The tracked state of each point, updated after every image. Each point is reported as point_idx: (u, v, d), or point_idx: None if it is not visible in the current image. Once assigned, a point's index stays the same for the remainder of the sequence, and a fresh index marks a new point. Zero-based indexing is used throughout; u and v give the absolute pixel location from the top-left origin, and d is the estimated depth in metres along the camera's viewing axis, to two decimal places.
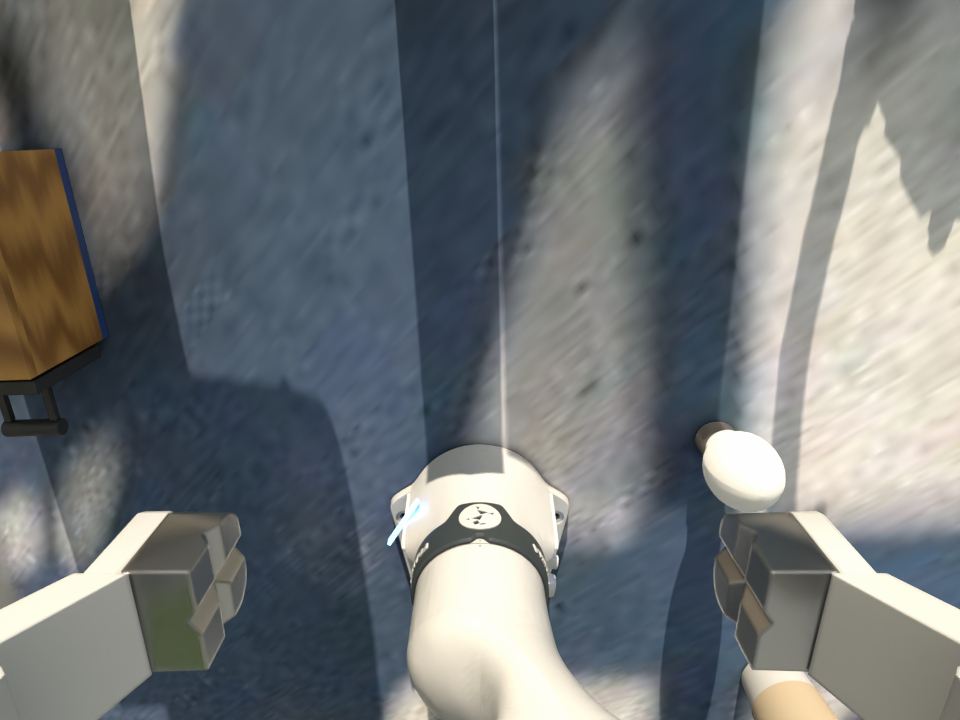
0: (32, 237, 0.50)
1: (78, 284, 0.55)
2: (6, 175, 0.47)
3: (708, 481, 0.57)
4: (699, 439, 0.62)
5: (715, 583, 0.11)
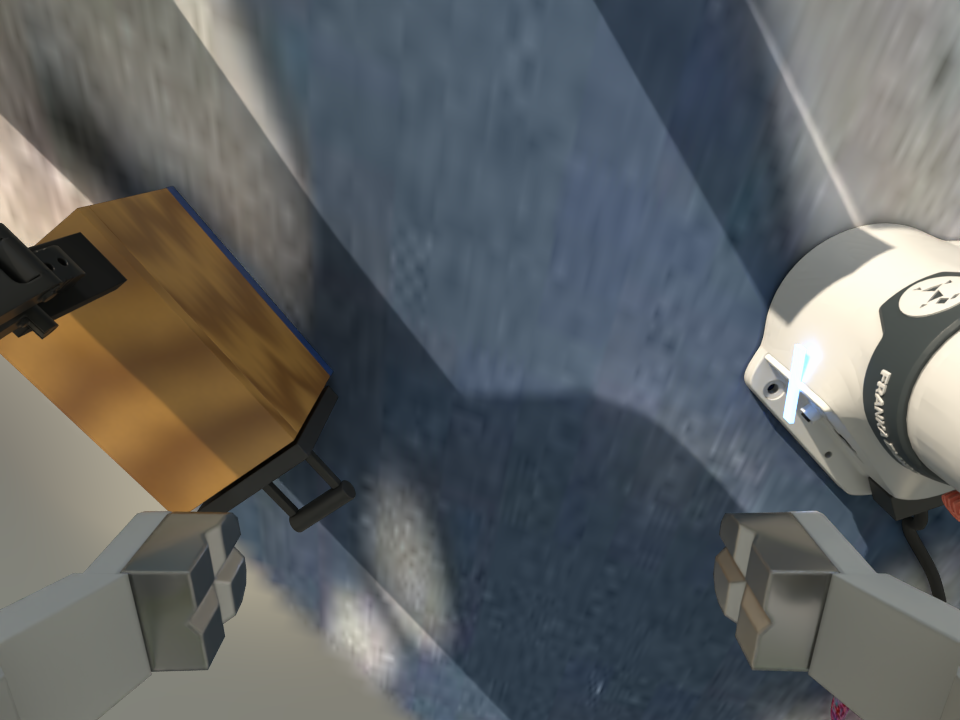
0: (202, 284, 0.39)
1: (274, 324, 0.44)
2: (137, 223, 0.37)
3: None
4: None
5: (715, 583, 0.11)
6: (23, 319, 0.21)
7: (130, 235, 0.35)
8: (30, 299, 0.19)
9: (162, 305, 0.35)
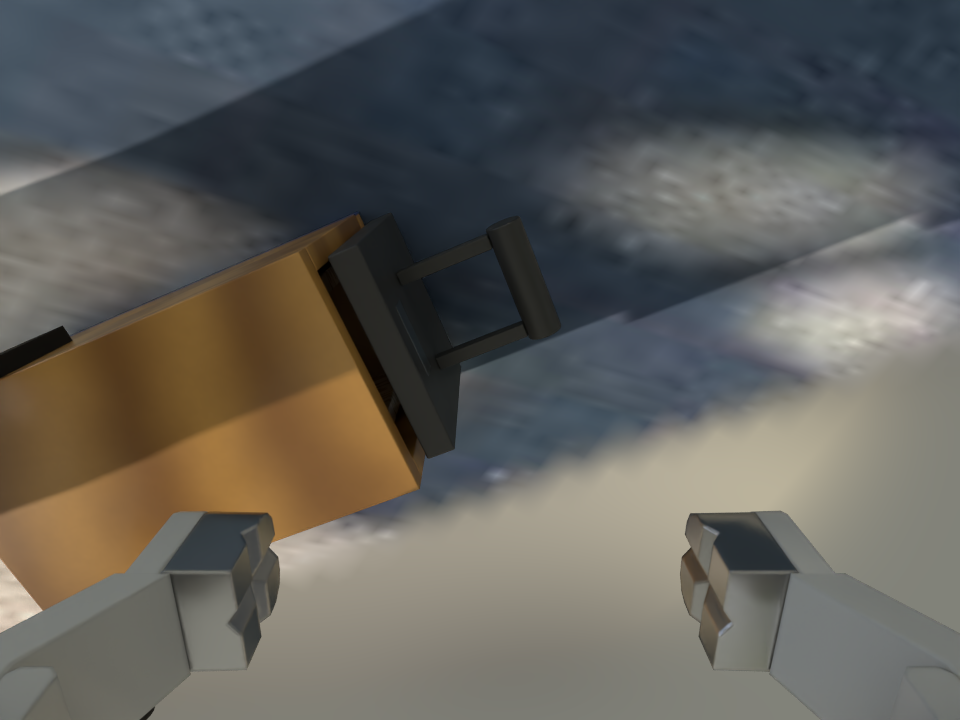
0: (109, 325, 0.27)
1: (242, 263, 0.30)
2: None
3: None
4: None
5: (682, 583, 0.11)
6: None
7: None
8: None
9: (38, 371, 0.22)
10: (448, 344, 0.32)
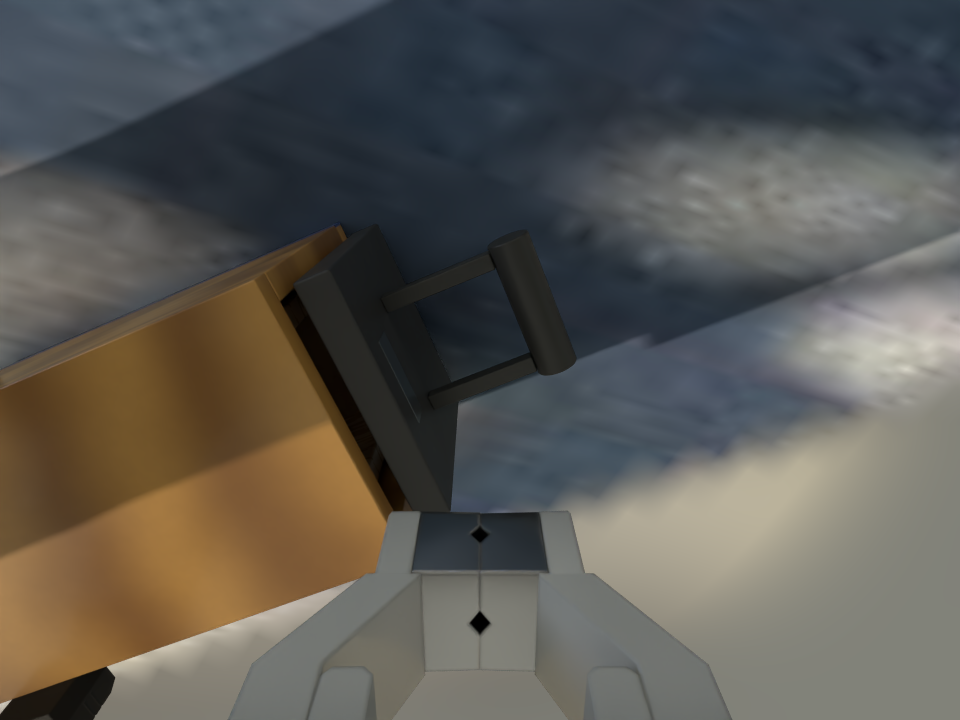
0: (41, 360, 0.22)
1: (204, 283, 0.26)
2: None
3: None
4: None
5: None
6: None
7: None
8: None
9: None
10: (444, 374, 0.28)
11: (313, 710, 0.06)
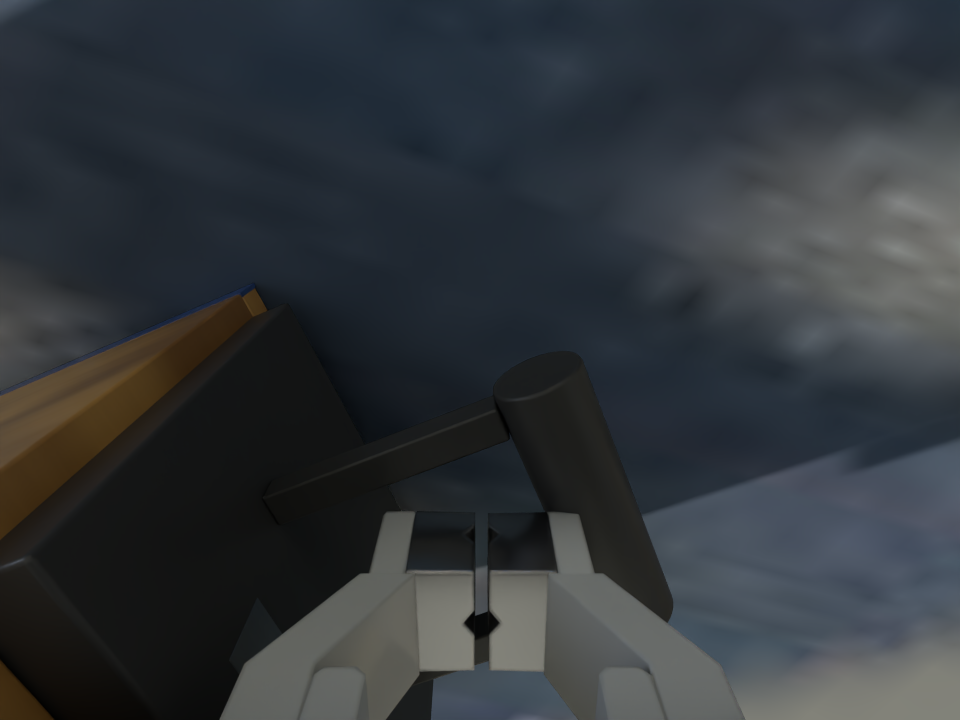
0: None
1: None
2: None
3: None
4: None
5: None
6: None
7: None
8: None
9: None
10: None
11: (305, 710, 0.06)
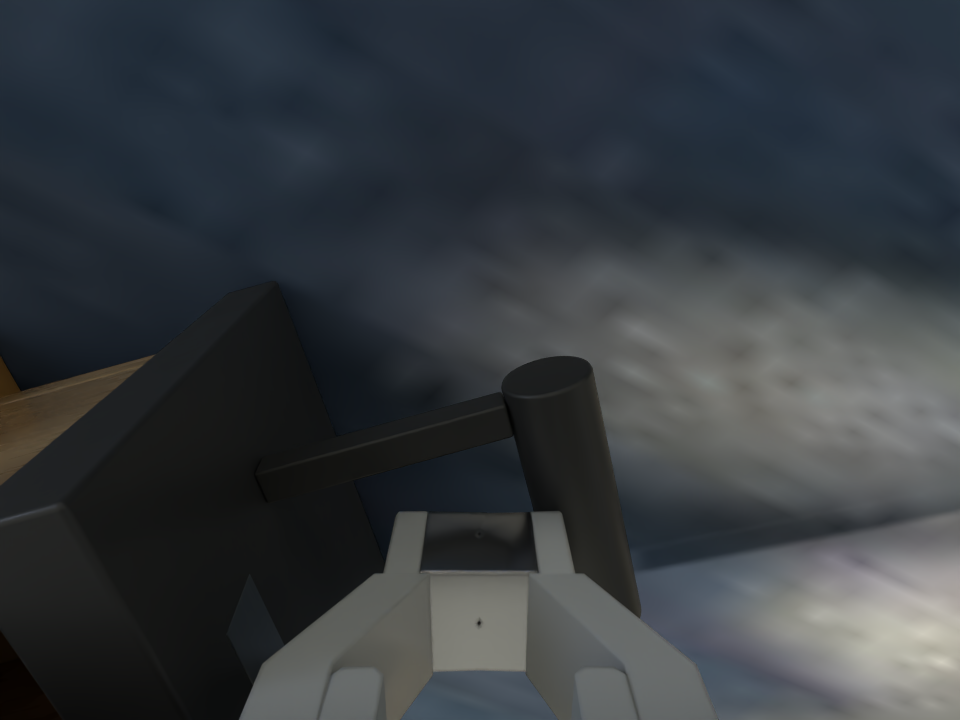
0: None
1: None
2: None
3: None
4: None
5: None
6: None
7: None
8: None
9: None
10: (371, 548, 0.16)
11: (324, 710, 0.06)
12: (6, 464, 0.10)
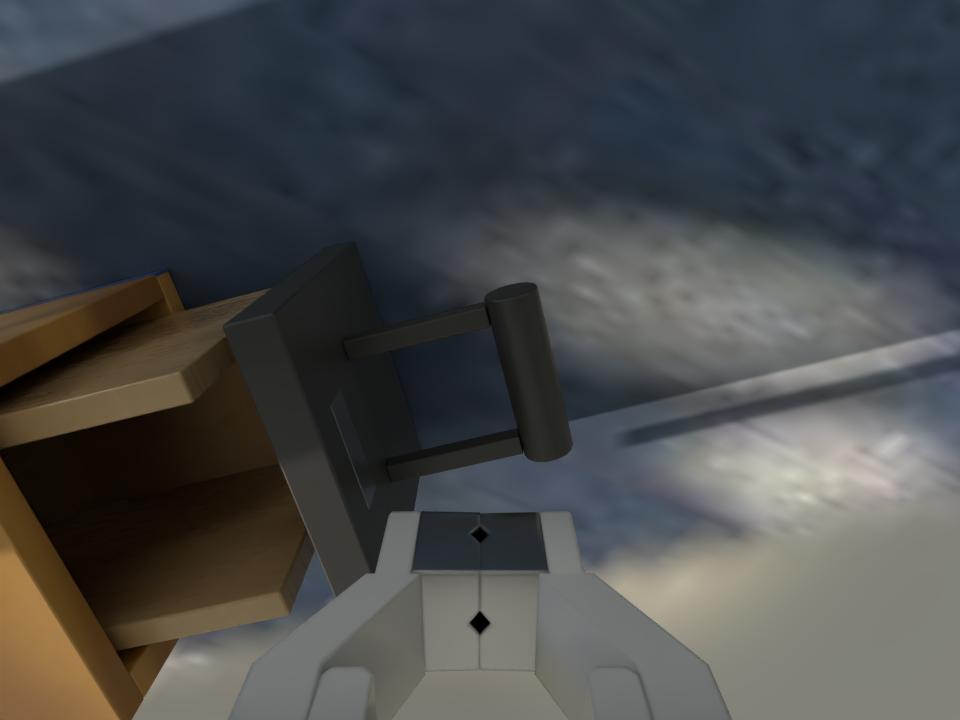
0: None
1: None
2: None
3: None
4: None
5: None
6: None
7: None
8: None
9: None
10: (410, 426, 0.23)
11: (313, 710, 0.06)
12: (210, 330, 0.17)
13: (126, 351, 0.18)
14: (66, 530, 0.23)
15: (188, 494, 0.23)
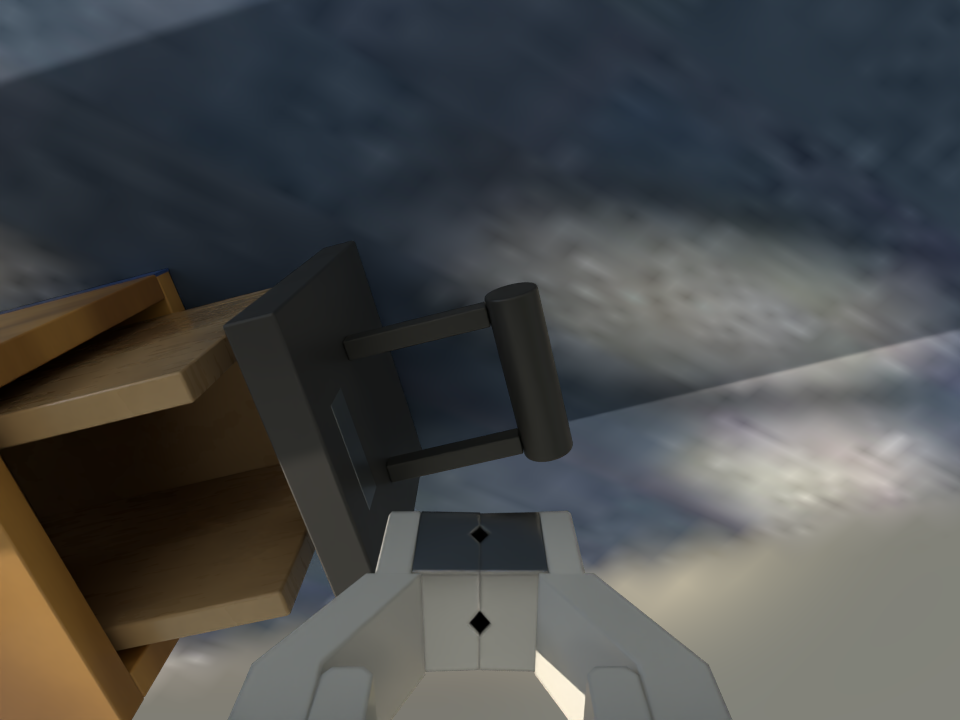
0: None
1: None
2: None
3: None
4: None
5: None
6: None
7: None
8: None
9: None
10: (410, 426, 0.23)
11: (313, 710, 0.06)
12: (210, 330, 0.17)
13: (126, 351, 0.18)
14: (66, 530, 0.23)
15: (188, 494, 0.23)
